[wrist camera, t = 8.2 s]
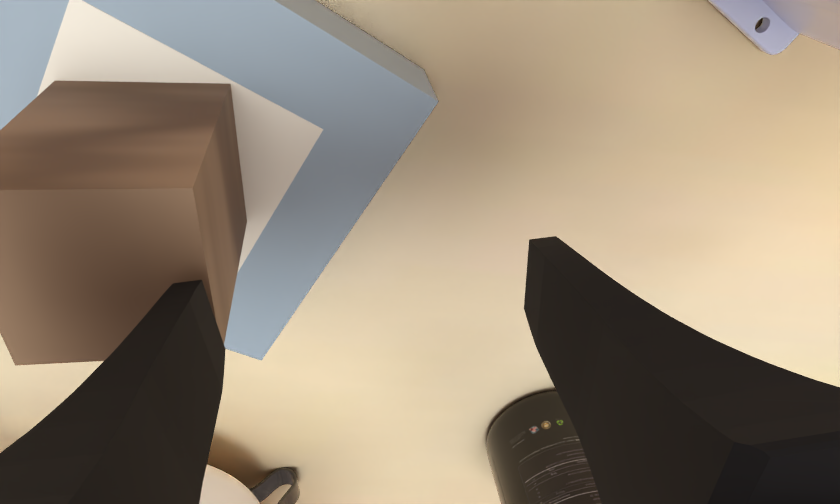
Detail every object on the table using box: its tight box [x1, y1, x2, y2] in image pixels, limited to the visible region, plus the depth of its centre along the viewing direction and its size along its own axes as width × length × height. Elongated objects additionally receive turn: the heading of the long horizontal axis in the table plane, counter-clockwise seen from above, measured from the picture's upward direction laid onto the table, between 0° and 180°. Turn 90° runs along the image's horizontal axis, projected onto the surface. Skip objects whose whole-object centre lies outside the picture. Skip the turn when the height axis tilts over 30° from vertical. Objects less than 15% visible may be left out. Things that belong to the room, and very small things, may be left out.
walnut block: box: [0, 81, 247, 365], centre depth 15 cm, size 4×4×6 cm
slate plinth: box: [0, 0, 439, 360], centre depth 18 cm, size 12×12×3 cm
